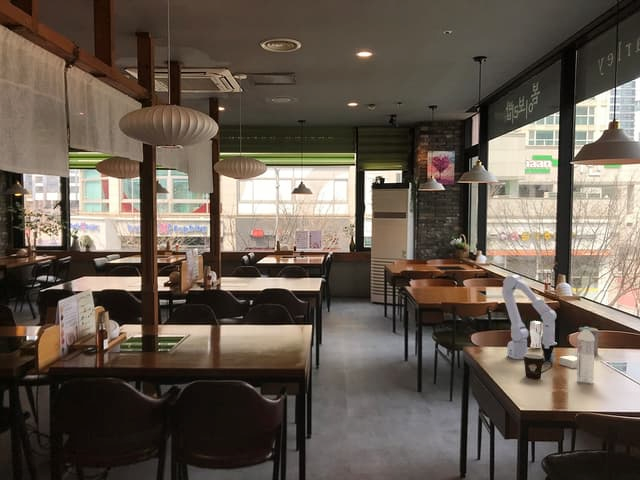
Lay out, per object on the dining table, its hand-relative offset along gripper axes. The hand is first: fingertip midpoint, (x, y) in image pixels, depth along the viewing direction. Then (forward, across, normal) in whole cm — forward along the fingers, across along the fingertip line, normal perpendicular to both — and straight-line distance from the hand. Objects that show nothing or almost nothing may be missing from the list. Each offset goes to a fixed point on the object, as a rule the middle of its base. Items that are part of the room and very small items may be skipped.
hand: (548, 359), depth 268 cm
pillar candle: (+2, +34, -17) cm, 38 cm away
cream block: (+2, 0, -11) cm, 11 cm away
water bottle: (+2, -29, -19) cm, 34 cm away
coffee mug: (+2, -34, +1) cm, 34 cm away
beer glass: (+2, +33, +10) cm, 35 cm away
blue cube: (+1, 0, 0) cm, 1 cm away
